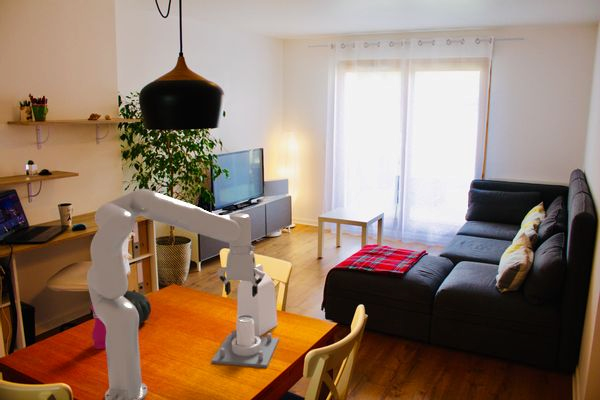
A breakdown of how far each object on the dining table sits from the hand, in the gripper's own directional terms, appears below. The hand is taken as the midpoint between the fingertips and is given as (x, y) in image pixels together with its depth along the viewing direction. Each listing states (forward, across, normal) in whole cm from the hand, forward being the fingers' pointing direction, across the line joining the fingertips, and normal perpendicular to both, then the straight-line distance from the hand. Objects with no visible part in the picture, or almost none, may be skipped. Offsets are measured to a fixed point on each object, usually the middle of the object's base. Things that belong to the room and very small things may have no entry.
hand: (241, 294), depth 181 cm
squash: (+23, +52, -16) cm, 59 cm away
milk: (+22, 0, -21) cm, 31 cm away
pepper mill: (+23, +54, +4) cm, 58 cm away
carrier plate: (+22, -1, -1) cm, 22 cm away
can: (+22, -1, -1) cm, 22 cm away
